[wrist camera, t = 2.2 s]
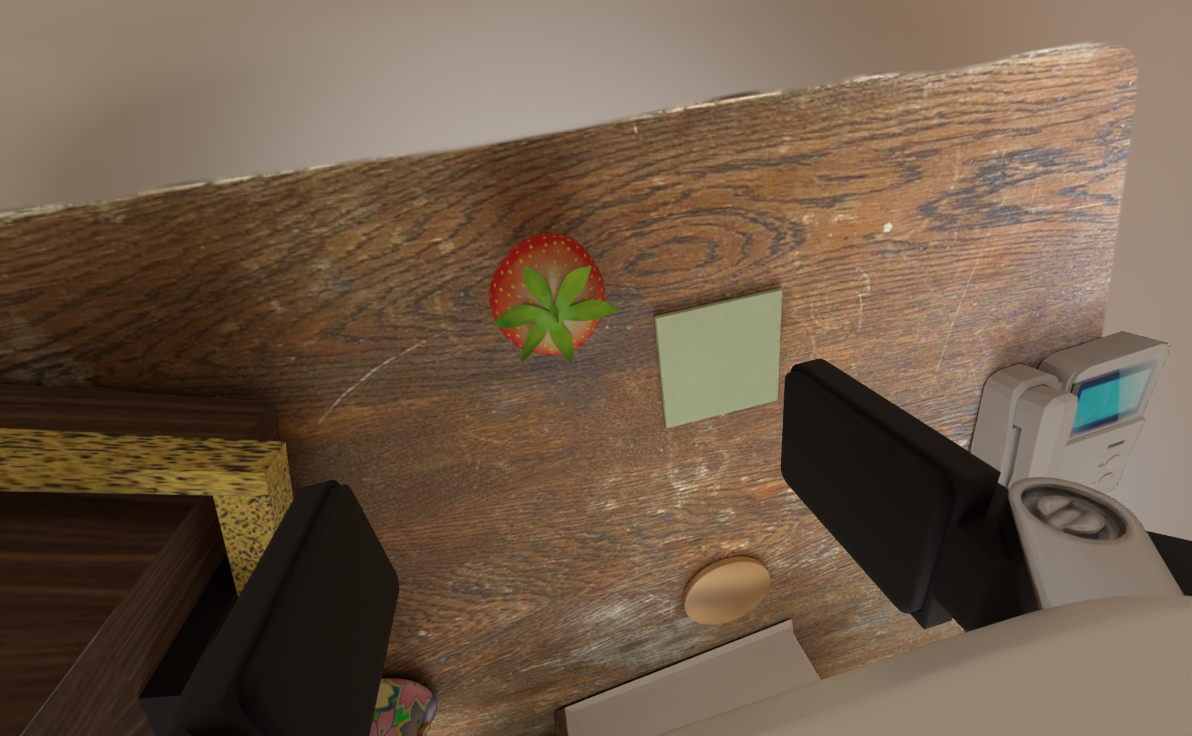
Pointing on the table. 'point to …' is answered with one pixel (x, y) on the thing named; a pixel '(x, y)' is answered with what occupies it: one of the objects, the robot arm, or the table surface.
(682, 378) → the napkin
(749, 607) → the coaster
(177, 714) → the robot arm
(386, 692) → the mug
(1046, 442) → the intercom
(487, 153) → the table surface
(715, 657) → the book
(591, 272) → the fruit
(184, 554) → the brown wooden box
